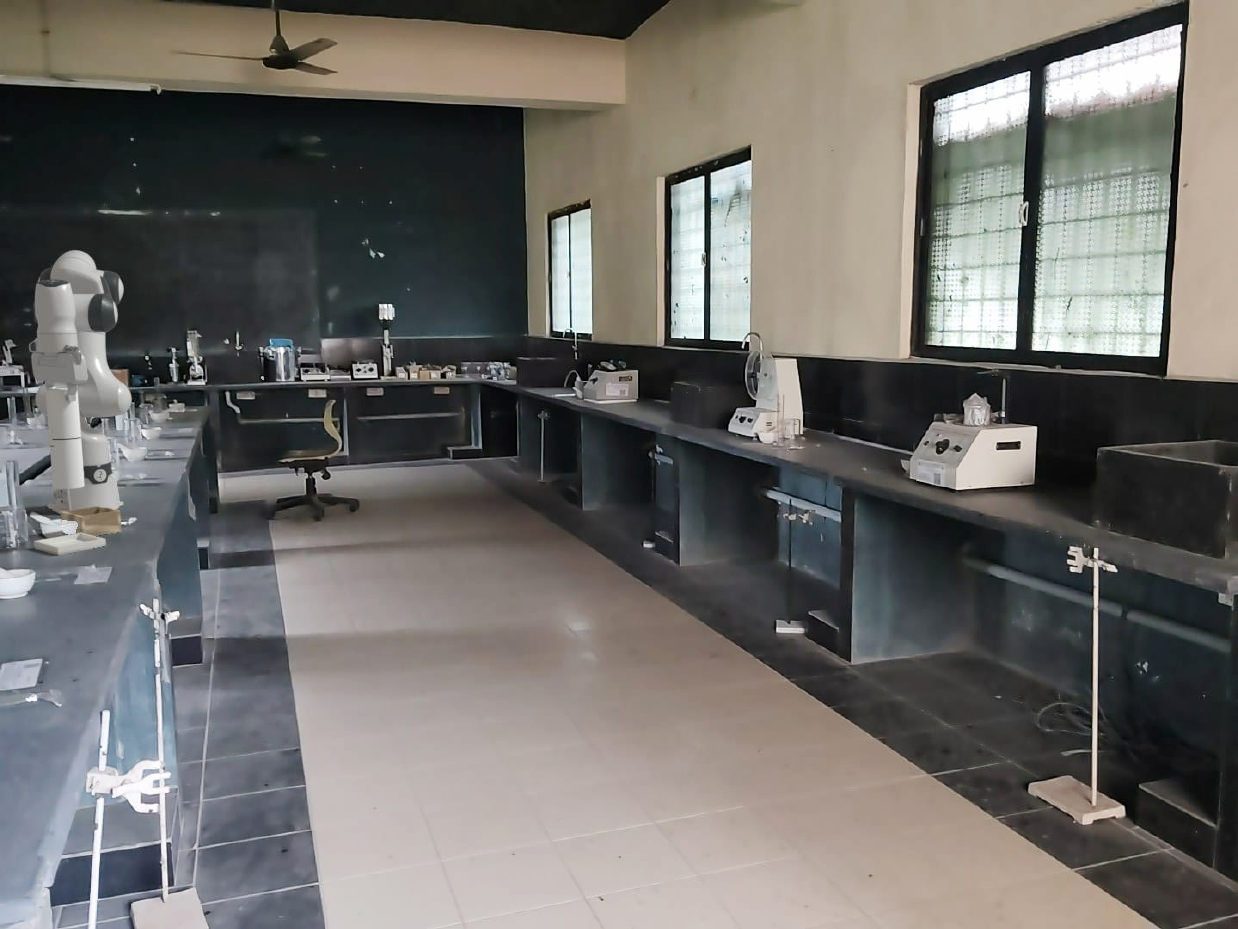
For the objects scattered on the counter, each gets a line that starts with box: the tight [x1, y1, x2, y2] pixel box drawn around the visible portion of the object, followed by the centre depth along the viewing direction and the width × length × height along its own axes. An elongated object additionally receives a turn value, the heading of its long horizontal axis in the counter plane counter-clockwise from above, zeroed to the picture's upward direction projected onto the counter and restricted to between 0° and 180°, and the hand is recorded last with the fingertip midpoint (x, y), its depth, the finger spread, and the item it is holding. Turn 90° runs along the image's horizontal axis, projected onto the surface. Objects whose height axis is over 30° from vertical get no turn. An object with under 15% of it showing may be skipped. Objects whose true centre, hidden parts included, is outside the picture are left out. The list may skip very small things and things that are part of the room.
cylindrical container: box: [45, 388, 85, 490], centre depth 258 cm, size 7×7×25 cm
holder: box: [60, 506, 123, 537], centre depth 276 cm, size 11×11×6 cm
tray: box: [33, 533, 107, 556], centre depth 260 cm, size 12×12×2 cm
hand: (62, 400), depth 257 cm, fingers closed on cylindrical container, 7 cm apart
